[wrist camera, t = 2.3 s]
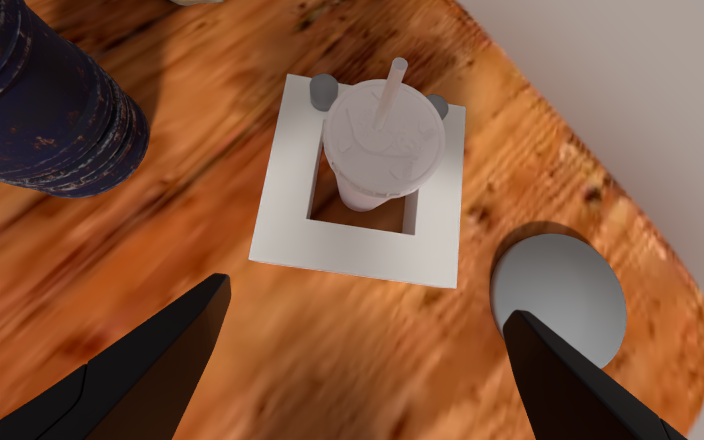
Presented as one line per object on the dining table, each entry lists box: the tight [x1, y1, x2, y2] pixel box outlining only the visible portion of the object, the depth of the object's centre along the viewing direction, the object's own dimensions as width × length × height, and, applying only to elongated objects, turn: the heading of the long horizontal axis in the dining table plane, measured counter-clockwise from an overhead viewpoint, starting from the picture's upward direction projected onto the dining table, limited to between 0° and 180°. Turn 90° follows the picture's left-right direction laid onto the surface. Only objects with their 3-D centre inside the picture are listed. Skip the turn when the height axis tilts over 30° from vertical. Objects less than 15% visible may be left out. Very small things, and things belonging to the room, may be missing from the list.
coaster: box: [490, 233, 627, 369], centre depth 23 cm, size 11×11×1 cm
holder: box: [248, 74, 466, 288], centre depth 21 cm, size 14×14×5 cm
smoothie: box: [323, 58, 446, 212], centre depth 17 cm, size 6×6×14 cm
